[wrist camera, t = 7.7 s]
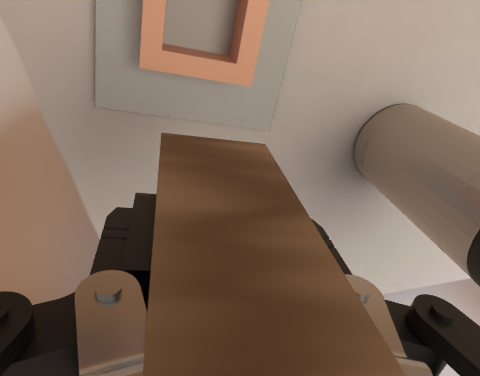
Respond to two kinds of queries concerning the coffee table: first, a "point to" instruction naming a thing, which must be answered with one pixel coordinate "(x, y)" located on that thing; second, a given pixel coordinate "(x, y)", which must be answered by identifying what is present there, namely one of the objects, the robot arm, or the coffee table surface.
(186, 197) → the walnut peg
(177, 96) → the socket block
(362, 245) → the coffee table surface
